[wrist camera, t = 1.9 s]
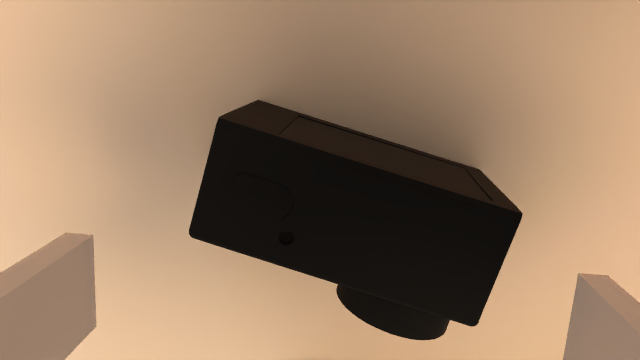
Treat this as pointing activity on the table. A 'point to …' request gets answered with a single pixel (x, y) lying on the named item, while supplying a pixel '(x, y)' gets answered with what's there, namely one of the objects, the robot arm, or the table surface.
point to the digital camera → (357, 217)
